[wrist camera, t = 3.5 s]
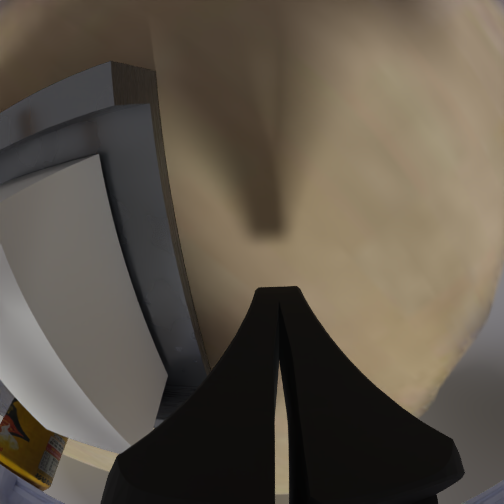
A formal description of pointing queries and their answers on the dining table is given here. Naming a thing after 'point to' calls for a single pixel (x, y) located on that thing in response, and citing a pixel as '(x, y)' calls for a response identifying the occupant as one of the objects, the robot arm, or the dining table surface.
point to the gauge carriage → (73, 311)
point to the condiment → (29, 447)
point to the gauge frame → (119, 198)
